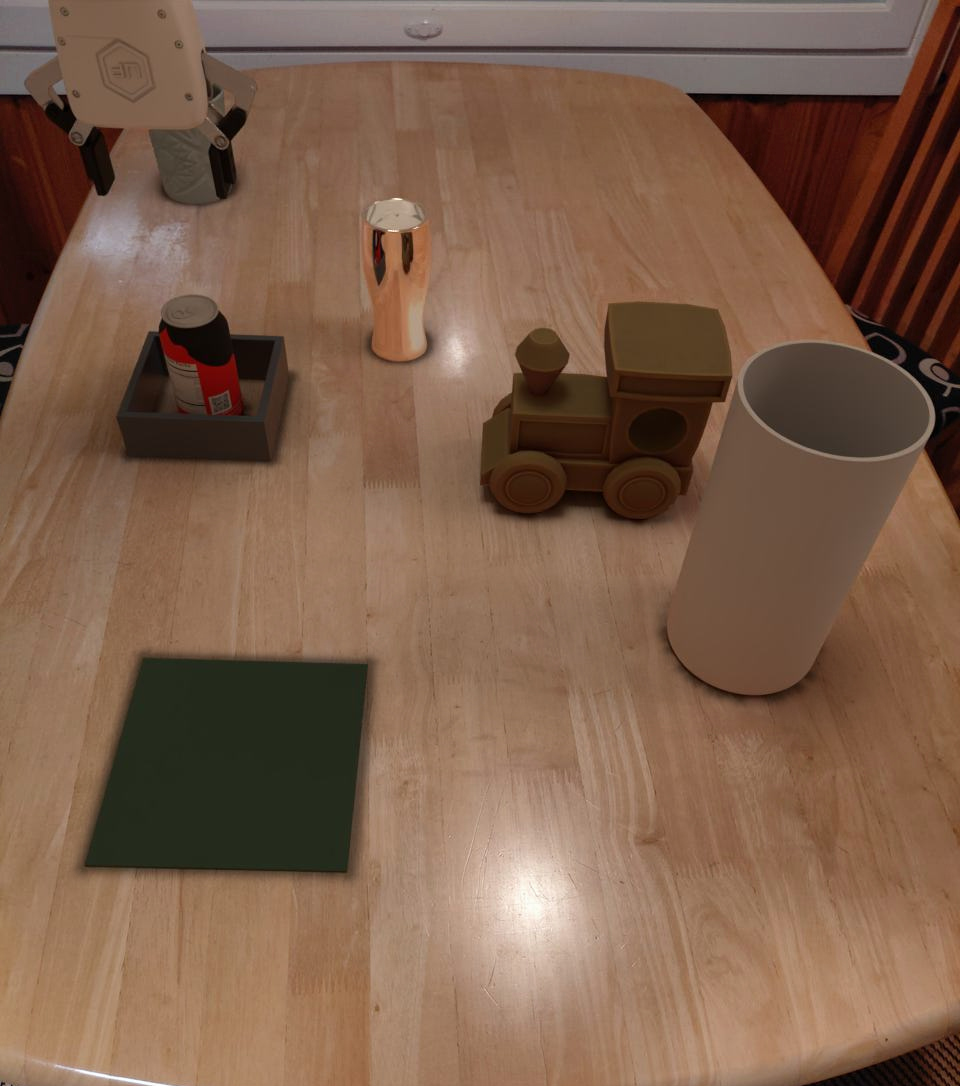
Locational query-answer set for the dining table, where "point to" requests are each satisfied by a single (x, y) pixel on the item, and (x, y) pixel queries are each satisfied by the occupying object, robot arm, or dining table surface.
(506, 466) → the wooden toy train
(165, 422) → the box
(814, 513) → the cylinder vase
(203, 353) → the beverage can
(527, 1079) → the dining table surface
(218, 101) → the grey-green embossed pot
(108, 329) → the dining table surface
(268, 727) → the mat
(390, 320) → the beer glass
